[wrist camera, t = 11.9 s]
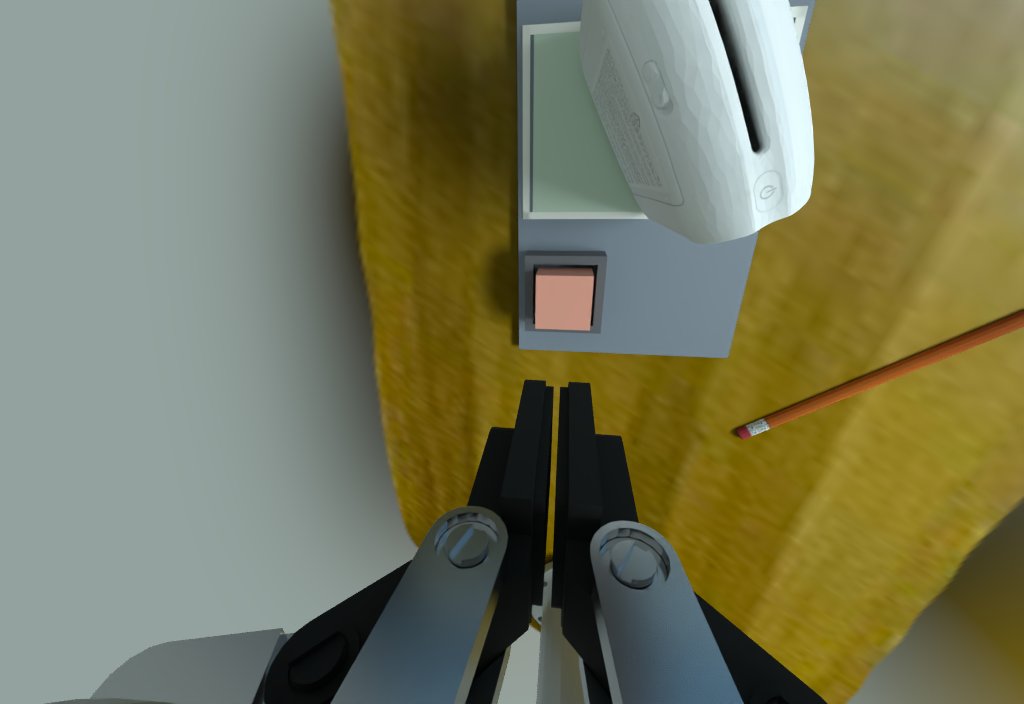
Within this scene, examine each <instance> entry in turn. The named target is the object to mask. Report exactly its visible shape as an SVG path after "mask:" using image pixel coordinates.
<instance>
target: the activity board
mask: <svg viewBox="0 0 1024 704" xmlns="http://www.w3.org/2000/svg"><path fill="white" fill-rule="evenodd" d="M815 1H816V0H789V4H790V7H791V11H792V16H793V19H794V23H795V28H796V32H797V37H798V41H799V45H800V50H801V55H802V54H803V49H804V45H805V41H806V37H807V33H808V29H809V25H810V21H811V17H812V13H813V9H814V5H815ZM582 3H583V0H517V109H518V255H519V349H530V350H554V351H577V352H600V353H623V354H646V355H670V356H693V357H716V358H728V355H729V351H730V347H731V343H732V339H733V334H734V330H735V326H736V322H737V318H738V314H739V310H740V306H741V302H742V298H743V294H744V290H745V286H746V282H747V277H748V273H749V269H750V265H751V261H752V257H753V253H754V249H755V245H756V241H757V237H758V233H759V230H758V231H757V232H755V233H753V234H751V235H748V236H745V237H742V238H738V239H734V240H731V241H726V242H721V243H714V244H697V243H694V242H692V241H690V240H689V239H687V238H685V237H683V236H681V235H679V234H677V233H676V232H674V231H672V230H670V229H668V228H666V227H664V226H662V225H660V224H658V223H656V222H654V221H652V220H650V219H648V218H647V217H646V215H645V214H644V213H643V211H642V210H641V208H640V207H639V205H638V203H637V202H636V200H635V198H634V196H633V193H632V191H631V189H630V187H629V185H628V183H627V181H626V178H625V176H624V174H623V172H622V169H621V167H620V165H619V162H618V160H617V158H616V155H615V153H614V150H613V148H612V146H611V143H610V141H609V139H608V136H607V134H606V131H605V129H604V126H603V124H602V121H601V119H600V116H599V114H598V111H597V108H596V106H595V104H594V101H593V98H592V95H591V93H590V90H589V87H588V84H587V82H586V79H585V76H584V73H583V69H582V65H581V60H580V55H579V48H578V44H579V34H580V25H581V14H582ZM539 267H560V268H592V271H593V275H594V282H593V295H592V309H591V322H590V331H587V330H559V329H535V313H536V274H537V271H538V268H539Z"/></svg>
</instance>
